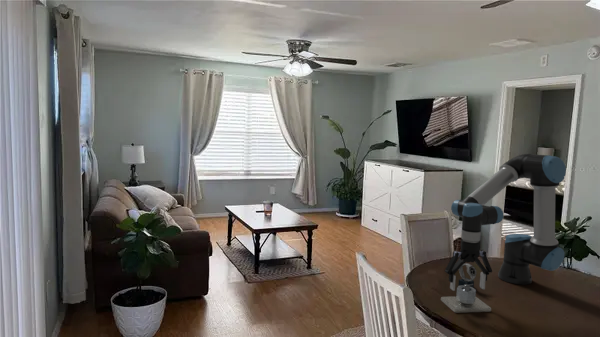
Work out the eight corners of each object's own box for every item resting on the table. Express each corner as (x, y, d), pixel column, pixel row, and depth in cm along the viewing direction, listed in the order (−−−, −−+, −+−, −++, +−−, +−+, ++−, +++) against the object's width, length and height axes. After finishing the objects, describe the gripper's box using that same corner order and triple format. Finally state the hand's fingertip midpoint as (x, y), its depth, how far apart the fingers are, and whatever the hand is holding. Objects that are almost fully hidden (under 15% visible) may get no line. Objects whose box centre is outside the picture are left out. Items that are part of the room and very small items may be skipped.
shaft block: (474, 299, 183) (476, 279, 182) (490, 311, 172) (492, 290, 171) (440, 300, 181) (442, 280, 180) (454, 312, 169) (456, 291, 168)
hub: (468, 296, 180) (469, 285, 180) (477, 303, 173) (478, 291, 173) (453, 296, 179) (454, 285, 178) (462, 303, 172) (463, 292, 172)
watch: (469, 290, 193) (471, 267, 192) (455, 284, 200) (457, 262, 199) (477, 288, 196) (479, 266, 195) (462, 282, 203) (464, 261, 201)
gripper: (492, 236, 179) (489, 284, 181) (438, 238, 175) (435, 286, 178) (503, 242, 171) (499, 291, 174) (447, 243, 168) (444, 293, 170)
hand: (467, 288), depth 176 cm, fingers open, 13 cm apart
